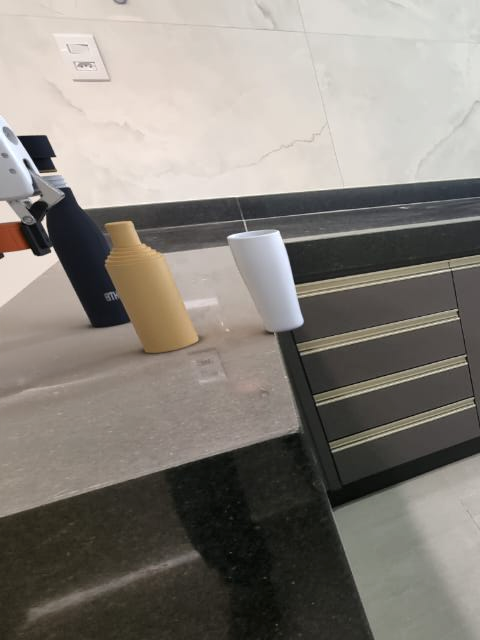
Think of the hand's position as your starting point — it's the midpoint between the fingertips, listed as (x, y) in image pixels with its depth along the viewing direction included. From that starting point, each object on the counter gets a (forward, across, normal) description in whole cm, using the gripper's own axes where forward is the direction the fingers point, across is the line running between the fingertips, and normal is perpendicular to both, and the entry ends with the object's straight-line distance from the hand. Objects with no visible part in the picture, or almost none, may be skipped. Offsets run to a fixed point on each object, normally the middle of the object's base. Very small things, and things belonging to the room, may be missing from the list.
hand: (19, 255), depth 69 cm
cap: (-1, 0, 0) cm, 1 cm away
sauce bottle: (+15, -11, 0) cm, 19 cm away
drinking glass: (+16, -26, +2) cm, 30 cm away
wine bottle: (+15, +1, -22) cm, 27 cm away
